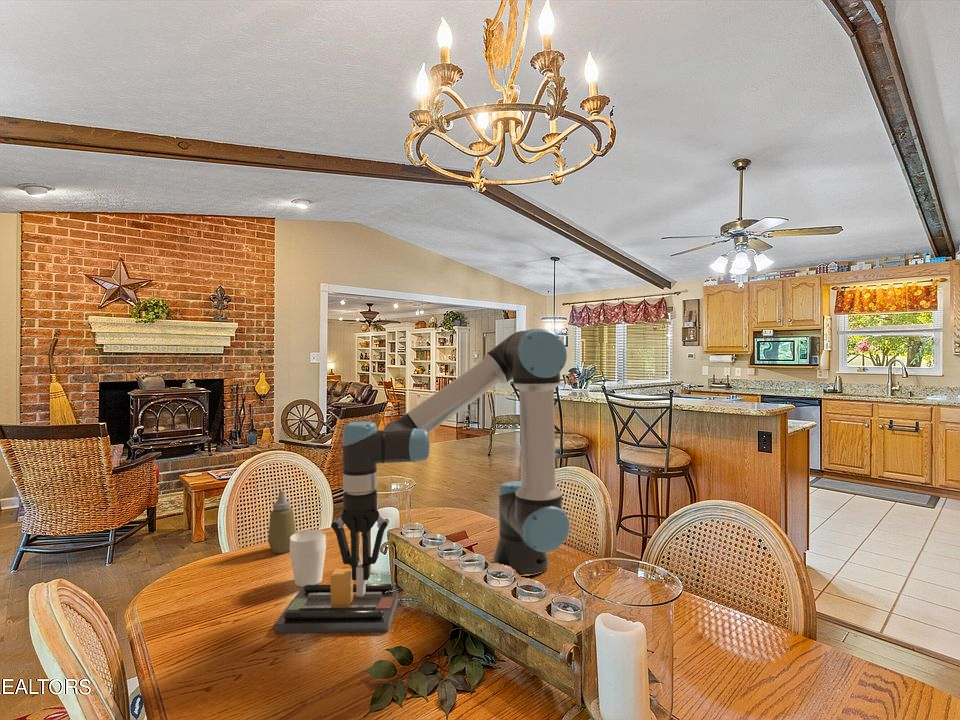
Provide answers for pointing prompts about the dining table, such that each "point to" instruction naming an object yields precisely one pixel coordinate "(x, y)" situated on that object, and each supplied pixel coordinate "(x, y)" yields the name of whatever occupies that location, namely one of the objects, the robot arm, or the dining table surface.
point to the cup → (308, 556)
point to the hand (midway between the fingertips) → (361, 593)
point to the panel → (338, 623)
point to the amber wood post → (341, 587)
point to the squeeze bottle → (281, 525)
